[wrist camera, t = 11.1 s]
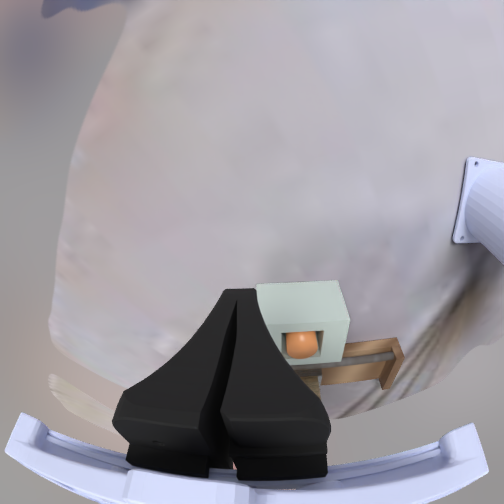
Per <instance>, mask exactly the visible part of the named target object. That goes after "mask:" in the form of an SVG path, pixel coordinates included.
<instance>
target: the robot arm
mask: <svg viewBox="0 0 504 504" xmlns="http://www.w3.org/2000/svg"><path fill="white" fill-rule="evenodd" d="M475 162H476V165H475ZM461 237H462V238H461ZM460 238H461V239H460ZM453 241H454V242H455V243H478V242H481V243H482V244H483V245H484V246H485V247H486V248H487V249H488V250H489V251H490V252H491V253H492V254H493V255H494V256H495V257H496V258H497V259H498V260H499V261H500V262H501V263H502V264H503V265H504V163H501V162H496V161H491V160H486V159H480V158H475V157H469V158H468V159H467V161H466V169H465V176H464V183H463V189H462V195H461V201H460V206H459V211H458V216H457V220H456V225H455V229H454V233H453ZM112 424H113V426H114V428H115V429H116V430H117V431H118V432H119V433H120V434H121V435H122V436H123V437H124V438H125V439H126V440H127V441H128V442H129V443H130V445H129V449H128V452H127V454H123V453H119V452H115V451H111V450H108V449H104V448H101V447H98V446H95V445H92V444H89V443H85V442H82V441H79V440H76V439H74V438H71V437H68V436H66V435H63V434H60V433H57V432H55V431H53V430H50V429H48V427H47V426H46V425H45V424H44V423H43V422H41V421H40V420H38V419H37V418H35V417H32V416H30V415H28V414H26V413H23V412H21V414H20V416H19V418H18V421H17V423H16V425H15V427H14V430H13V432H12V434H11V436H10V439H9V441H8V443H7V446H6V449H5V453H7V454H8V455H9V456H11V457H12V458H13V459H15V460H16V461H18V462H19V463H21V464H22V465H24V466H25V467H27V468H28V469H30V470H31V471H33V472H35V473H36V474H38V475H40V476H42V477H43V478H45V479H47V480H49V481H51V482H53V483H55V484H57V485H59V486H61V487H63V488H65V489H68V490H70V491H72V492H74V493H76V494H78V495H81V496H83V497H85V498H88V499H90V500H93V501H95V502H98V503H100V504H427V503H429V502H431V501H434V500H437V499H439V498H442V497H444V496H446V495H449V494H451V493H453V492H455V491H458V490H459V489H461V488H463V487H465V486H467V485H468V484H470V483H472V482H474V481H476V480H477V479H479V478H481V477H482V476H484V475H485V474H487V473H488V472H489V469H488V466H487V462H486V459H485V455H484V452H483V449H482V446H481V443H480V440H479V437H478V434H477V431H476V428H475V426H474V423H469V424H467V425H464V426H462V427H459V428H456V429H454V430H451V431H450V432H448V433H446V434H445V435H443V436H442V437H441V438H440V440H439V441H437V442H434V443H431V444H428V445H425V446H421V447H419V448H415V449H411V450H408V451H404V452H400V453H396V454H392V455H388V456H384V457H380V458H375V459H370V460H364V461H359V462H353V463H347V464H341V465H333V466H327V458H326V454H327V440H328V437H329V435H330V432H331V424H330V420H329V417H328V414H327V412H326V410H325V408H324V406H323V404H322V402H321V400H320V398H319V397H318V396H317V395H316V394H315V393H314V392H313V391H312V390H311V389H310V388H309V387H308V386H307V385H306V384H305V383H304V382H303V381H302V380H301V378H300V377H299V376H298V375H297V374H296V372H295V371H294V370H293V369H292V367H291V366H290V365H289V364H288V362H287V361H286V359H285V358H284V357H283V355H282V354H281V352H280V350H279V349H278V347H277V346H276V344H275V342H274V340H273V338H272V337H271V335H270V333H269V331H268V328H267V326H266V324H265V322H264V319H263V317H262V314H261V311H260V308H259V304H258V300H257V290H255V289H254V288H248V289H225V290H224V291H223V293H222V295H221V297H220V298H219V300H218V302H217V303H216V305H215V307H214V308H213V310H212V311H211V313H210V314H209V316H208V317H207V318H206V320H205V321H204V323H203V324H202V325H201V327H200V328H199V329H198V330H197V332H196V333H195V334H194V335H193V337H192V338H191V339H190V340H189V341H188V342H187V343H186V344H185V346H184V347H183V348H182V349H181V350H180V351H179V352H178V353H177V354H175V355H174V356H173V357H172V358H171V359H170V360H169V361H168V362H167V363H165V364H164V365H163V366H162V367H160V368H159V369H158V370H156V371H155V372H154V373H152V374H151V375H150V376H148V377H147V378H145V379H144V380H142V381H141V382H139V383H137V384H135V385H134V386H132V387H130V388H129V389H127V390H125V391H124V392H123V394H122V396H121V398H120V400H119V403H118V405H117V408H116V411H115V414H114V417H113V419H112ZM233 462H234V464H235V466H236V468H237V470H233ZM276 489H296V490H276Z"/></svg>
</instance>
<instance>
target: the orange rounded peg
mask: <svg viewBox="0 0 504 504" xmlns="http://www.w3.org/2000/svg"><path fill="white" fill-rule="evenodd" d="M286 346H287V353H288V355H289V356H291V357H292V358H295V359H305V358H309V357H311V356H313V355H314V354H315V353H316V352H317V350H318V345H317V339H316V333H315V331H306V332H287V333H286Z"/></svg>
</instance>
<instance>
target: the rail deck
mask: <svg viewBox="0 0 504 504" xmlns="http://www.w3.org/2000/svg"><path fill="white" fill-rule="evenodd" d="M404 358H405V357H404V355H403V352H402V350H401V347H400V345H399V342H398V340H397V338H390V339H382V340H374V341H366V342H357V343H347V344H345V347H344V351H343V355H342V359H341V361H340V362H330V363H318V364H304V365H290V366H291V367H292V369H293V370H309V369H321V371H322V380H321V385H330V384H339V383H348V382H356V381H364V380H371V379H377V378H379V381H380V384H381V388H382V390H384V389H390V387H391V385H392V383H393V381H394V379H395V377H396V375H397V373H398V371H399V369H400V367H401V365H402V362H403V360H404Z"/></svg>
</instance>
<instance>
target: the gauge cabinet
mask: <svg viewBox="0 0 504 504" xmlns="http://www.w3.org/2000/svg"><path fill="white" fill-rule="evenodd" d="M256 290H257V300H258V304H259V308H260V311H261V314H262V317H263V319H264V322H265V324H266V326H267V328H268V331H269V333H270V335H271V337H272V338H273V340H274V342H275V344H276V346H277V347H278V349H279V350H280V352H281V354H282V355H283V357H284V358H285V359H286V361H287V362H288V364H289V365H304V364H318V363H330V362H340V361H341V359H342V355H343V351H344V347H345V342H346V338H347V333H348V328H349V324H350V317H349V314H348V311H347V308H346V305H345V302H344V298H343V295H342V292H341V289H340V286H339V283H338V280H331V281H312V282H291V283H266V284H257V286H256ZM306 331H315V333H316V339H317V345H318V350H317V352H316V353H315V354H314V355H313V356H311V357H309V358H305V359H295V358H292V357H291V356H289V355H288V353H287V346H286V333H287V332H306Z"/></svg>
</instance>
